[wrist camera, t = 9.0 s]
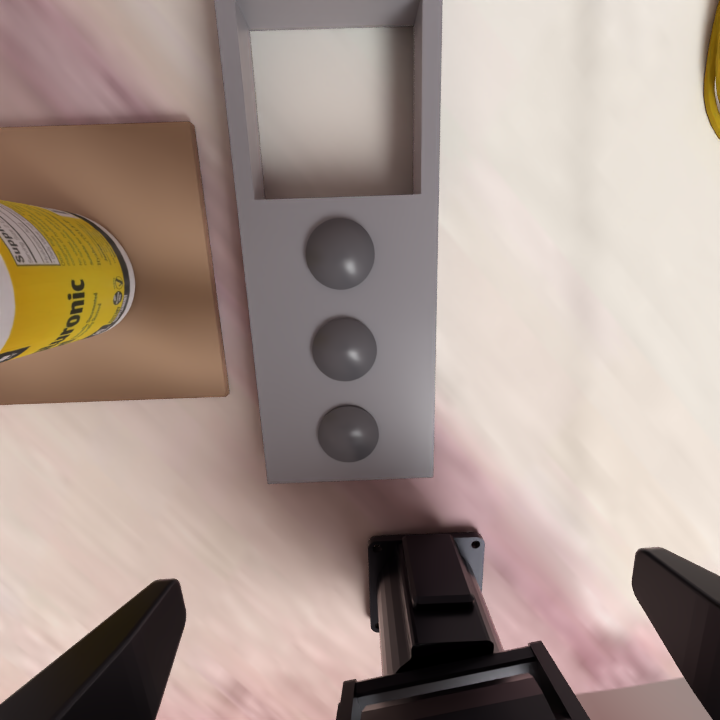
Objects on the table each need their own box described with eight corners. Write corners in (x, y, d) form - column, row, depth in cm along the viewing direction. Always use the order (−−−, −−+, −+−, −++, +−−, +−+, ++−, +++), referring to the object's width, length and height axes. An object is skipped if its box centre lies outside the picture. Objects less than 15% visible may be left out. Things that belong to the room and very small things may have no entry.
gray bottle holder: (425, 456, 20) (436, 484, 17) (276, 462, 20) (264, 491, 17) (432, -59, 14) (449, -129, 12) (223, -53, 14) (195, -122, 12)
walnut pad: (229, 392, 19) (226, 396, 18) (-10, 401, 19) (-19, 405, 18) (194, 125, 16) (189, 121, 15) (-92, 134, 16) (-106, 130, 15)
